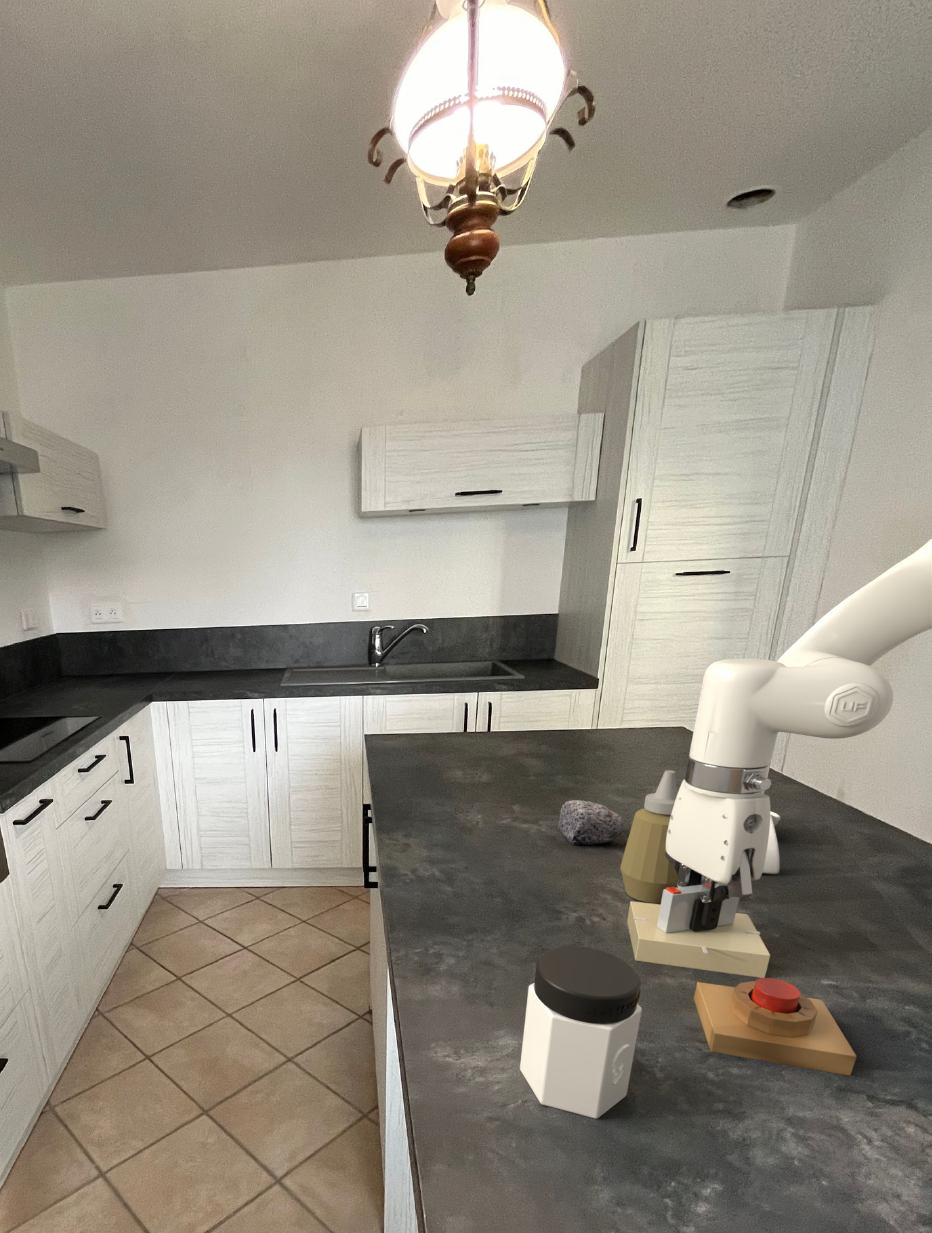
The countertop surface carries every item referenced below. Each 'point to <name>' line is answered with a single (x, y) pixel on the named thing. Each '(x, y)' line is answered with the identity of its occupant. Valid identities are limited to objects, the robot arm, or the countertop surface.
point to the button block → (772, 1030)
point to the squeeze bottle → (650, 846)
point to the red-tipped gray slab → (688, 908)
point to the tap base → (698, 944)
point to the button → (776, 995)
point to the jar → (581, 1029)
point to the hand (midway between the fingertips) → (695, 923)
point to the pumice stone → (589, 823)
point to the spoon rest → (772, 848)
